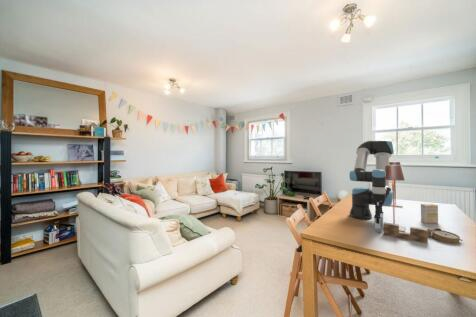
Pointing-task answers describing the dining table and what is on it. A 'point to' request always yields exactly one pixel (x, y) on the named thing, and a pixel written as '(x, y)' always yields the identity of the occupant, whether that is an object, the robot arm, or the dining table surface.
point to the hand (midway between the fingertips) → (378, 225)
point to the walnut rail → (414, 234)
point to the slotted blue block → (381, 224)
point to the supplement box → (429, 213)
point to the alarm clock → (444, 236)
